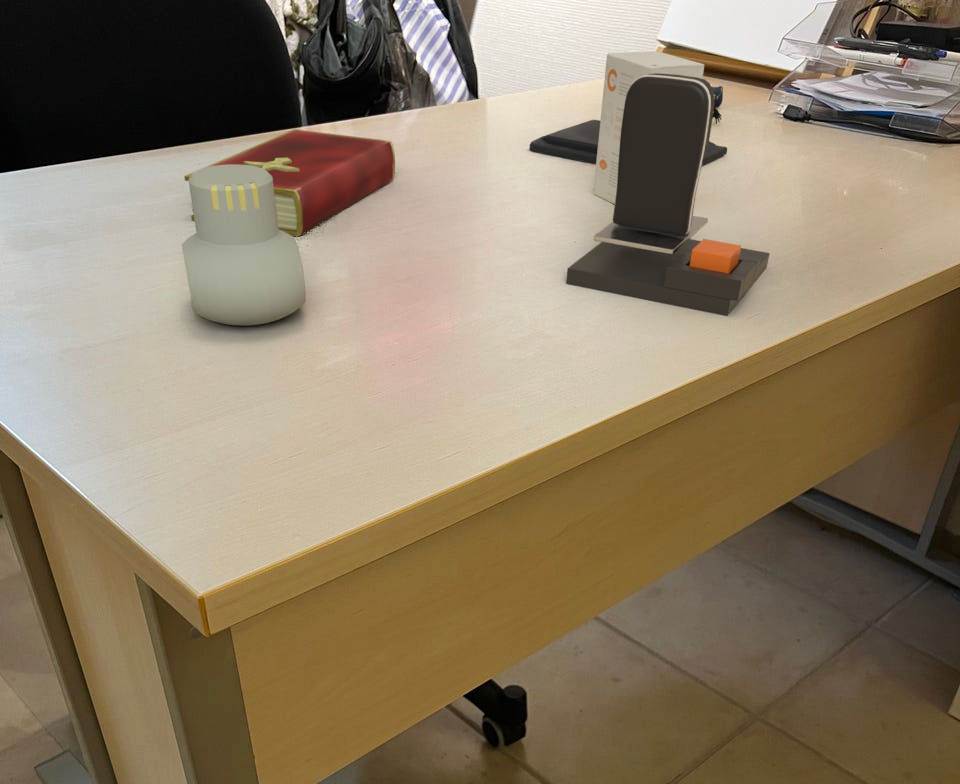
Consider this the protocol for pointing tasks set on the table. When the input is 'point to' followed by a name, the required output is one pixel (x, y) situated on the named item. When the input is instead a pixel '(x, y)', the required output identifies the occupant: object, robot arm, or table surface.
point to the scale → (667, 276)
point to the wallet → (591, 144)
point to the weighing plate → (648, 237)
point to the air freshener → (240, 249)
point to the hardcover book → (318, 173)
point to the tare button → (715, 256)
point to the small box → (616, 86)
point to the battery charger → (662, 151)
